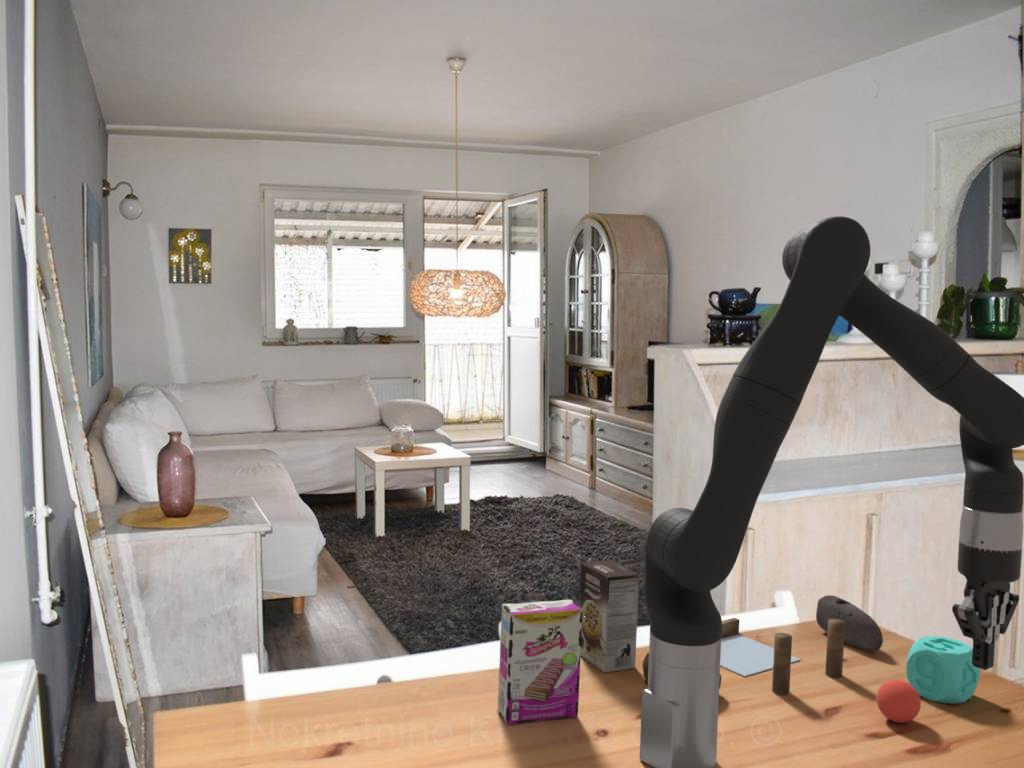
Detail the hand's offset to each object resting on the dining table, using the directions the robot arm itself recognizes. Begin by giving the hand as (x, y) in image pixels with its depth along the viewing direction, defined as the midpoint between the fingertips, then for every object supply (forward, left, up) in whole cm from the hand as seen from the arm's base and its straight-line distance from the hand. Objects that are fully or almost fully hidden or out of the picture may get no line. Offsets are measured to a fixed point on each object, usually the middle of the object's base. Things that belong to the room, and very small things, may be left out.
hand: (982, 666), depth 126 cm
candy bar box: (-44, +41, -12) cm, 61 cm away
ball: (0, +12, -9) cm, 15 cm away
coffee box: (-22, +52, -12) cm, 58 cm away
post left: (-7, +28, -12) cm, 31 cm away
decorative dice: (+15, +14, -13) cm, 24 cm away
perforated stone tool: (+22, +36, -13) cm, 44 cm away
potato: (-22, +34, -13) cm, 42 cm away
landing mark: (0, +42, -12) cm, 44 cm away
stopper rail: (0, +50, -12) cm, 52 cm away
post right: (+6, +28, -12) cm, 31 cm away
